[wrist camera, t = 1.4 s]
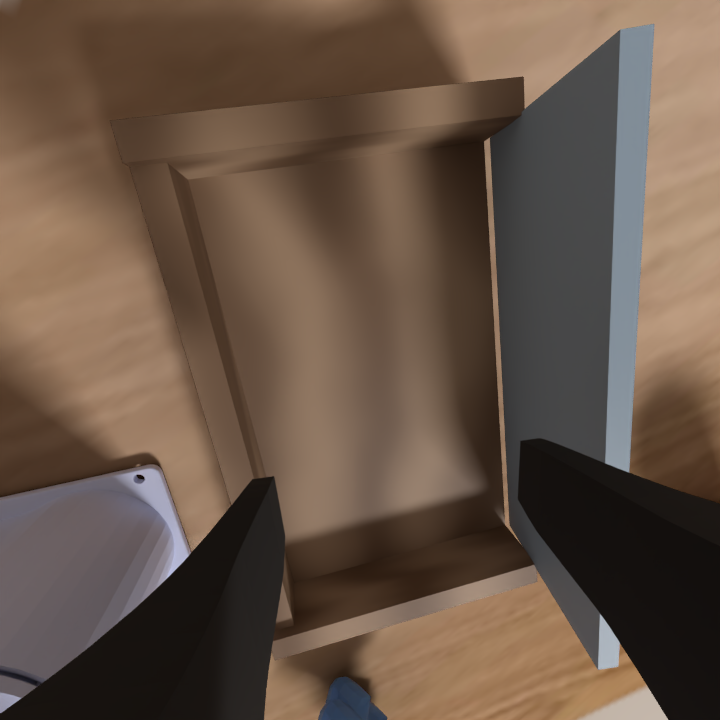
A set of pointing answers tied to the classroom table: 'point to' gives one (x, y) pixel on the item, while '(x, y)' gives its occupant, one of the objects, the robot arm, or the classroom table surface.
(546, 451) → the robot arm
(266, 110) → the tray
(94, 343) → the classroom table surface
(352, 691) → the grapes
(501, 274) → the panel
